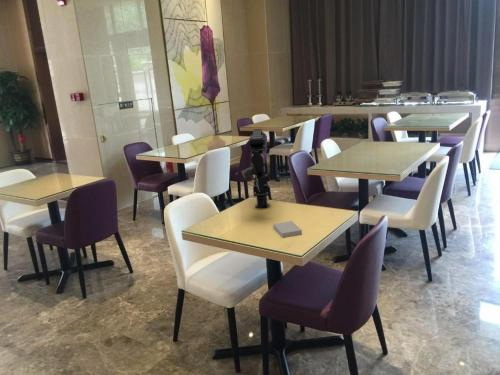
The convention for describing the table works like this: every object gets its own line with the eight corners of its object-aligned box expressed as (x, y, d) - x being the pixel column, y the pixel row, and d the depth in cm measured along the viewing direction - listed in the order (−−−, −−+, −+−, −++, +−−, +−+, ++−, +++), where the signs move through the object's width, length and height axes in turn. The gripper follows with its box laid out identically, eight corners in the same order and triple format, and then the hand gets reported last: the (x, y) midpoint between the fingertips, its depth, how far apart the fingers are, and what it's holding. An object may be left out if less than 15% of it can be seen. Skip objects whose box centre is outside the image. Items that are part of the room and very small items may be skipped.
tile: (273, 223, 198) (282, 233, 186) (291, 220, 200) (301, 230, 188) (273, 228, 199) (282, 238, 187) (291, 225, 201) (301, 235, 189)
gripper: (237, 160, 218) (240, 189, 222) (246, 167, 200) (249, 199, 204) (258, 157, 220) (261, 186, 224) (269, 164, 203) (271, 195, 207)
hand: (260, 191), depth 215 cm, fingers closed
